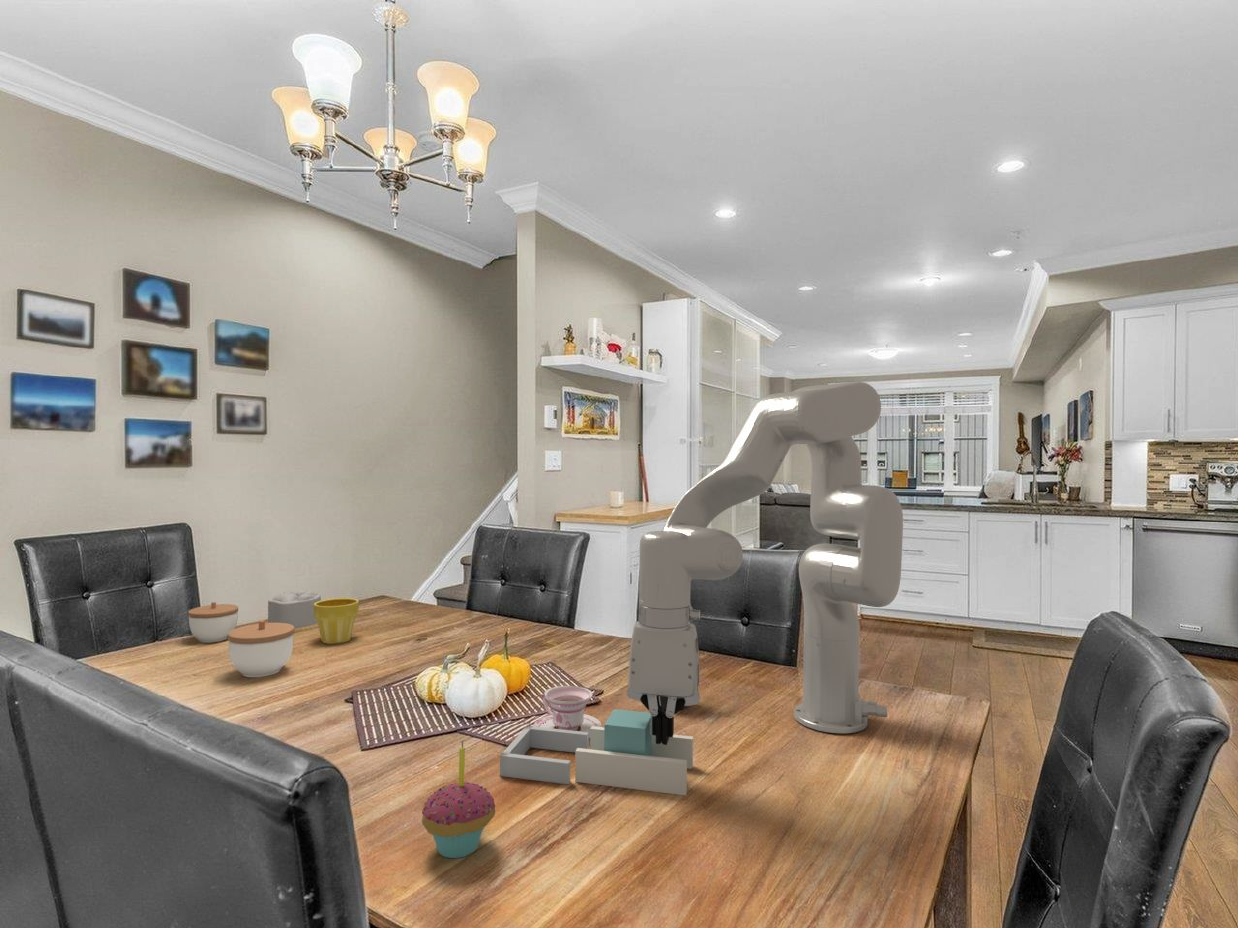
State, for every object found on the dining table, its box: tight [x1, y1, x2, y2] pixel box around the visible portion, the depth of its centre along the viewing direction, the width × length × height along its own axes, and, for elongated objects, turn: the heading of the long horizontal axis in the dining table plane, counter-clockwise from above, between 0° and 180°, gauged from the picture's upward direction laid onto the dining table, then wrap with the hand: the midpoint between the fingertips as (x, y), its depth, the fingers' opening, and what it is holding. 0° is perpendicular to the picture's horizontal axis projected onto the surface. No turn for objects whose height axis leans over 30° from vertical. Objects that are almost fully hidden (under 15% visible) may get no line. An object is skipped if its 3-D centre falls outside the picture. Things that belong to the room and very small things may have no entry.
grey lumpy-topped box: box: [267, 589, 322, 630], centre depth 182 cm, size 10×13×9 cm
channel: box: [574, 726, 694, 796], centre depth 98 cm, size 16×9×4 cm, turn 77°
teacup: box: [532, 685, 603, 740], centre depth 114 cm, size 12×12×6 cm
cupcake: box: [421, 740, 496, 859], centre depth 79 cm, size 9×8×12 cm
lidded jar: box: [187, 601, 239, 644], centre depth 166 cm, size 11×11×9 cm
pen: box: [499, 725, 590, 785], centre depth 101 cm, size 10×11×3 cm
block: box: [603, 708, 652, 756], centre depth 98 cm, size 6×6×8 cm
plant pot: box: [314, 597, 360, 645], centre depth 166 cm, size 10×10×10 cm
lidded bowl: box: [227, 619, 296, 679], centre depth 141 cm, size 13×13×11 cm
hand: (662, 740), depth 97 cm, fingers closed
